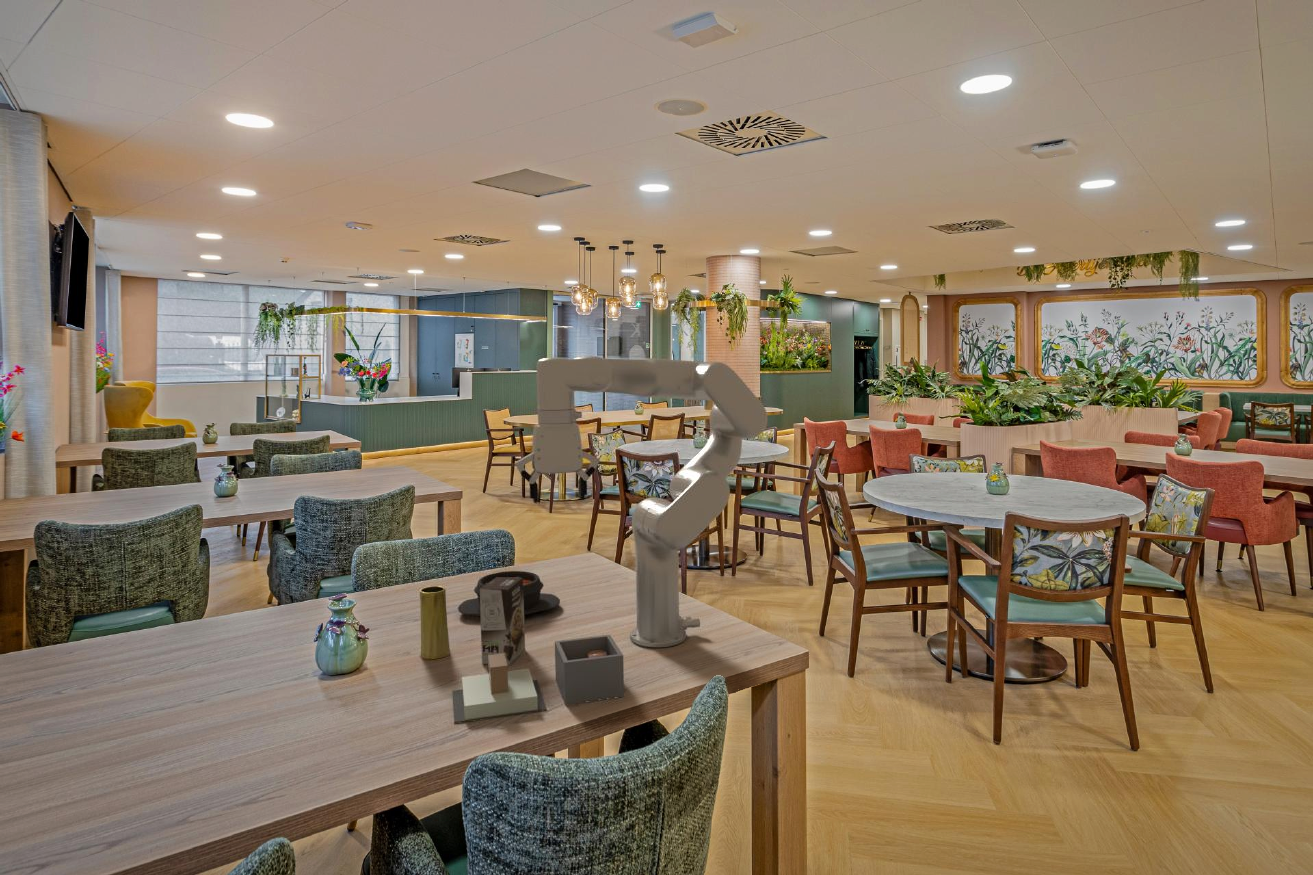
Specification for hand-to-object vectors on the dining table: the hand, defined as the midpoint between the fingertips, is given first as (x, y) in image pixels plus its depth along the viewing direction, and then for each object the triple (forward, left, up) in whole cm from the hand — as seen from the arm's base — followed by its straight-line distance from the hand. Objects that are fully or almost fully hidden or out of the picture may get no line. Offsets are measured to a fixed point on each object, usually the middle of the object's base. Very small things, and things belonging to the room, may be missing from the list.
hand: (558, 500), depth 158 cm
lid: (+15, +18, -33) cm, 40 cm away
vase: (+26, -9, -34) cm, 43 cm away
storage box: (-2, +18, -33) cm, 38 cm away
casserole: (+8, -32, -34) cm, 47 cm away
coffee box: (+12, -3, -34) cm, 36 cm away
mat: (+15, +18, -33) cm, 41 cm away
